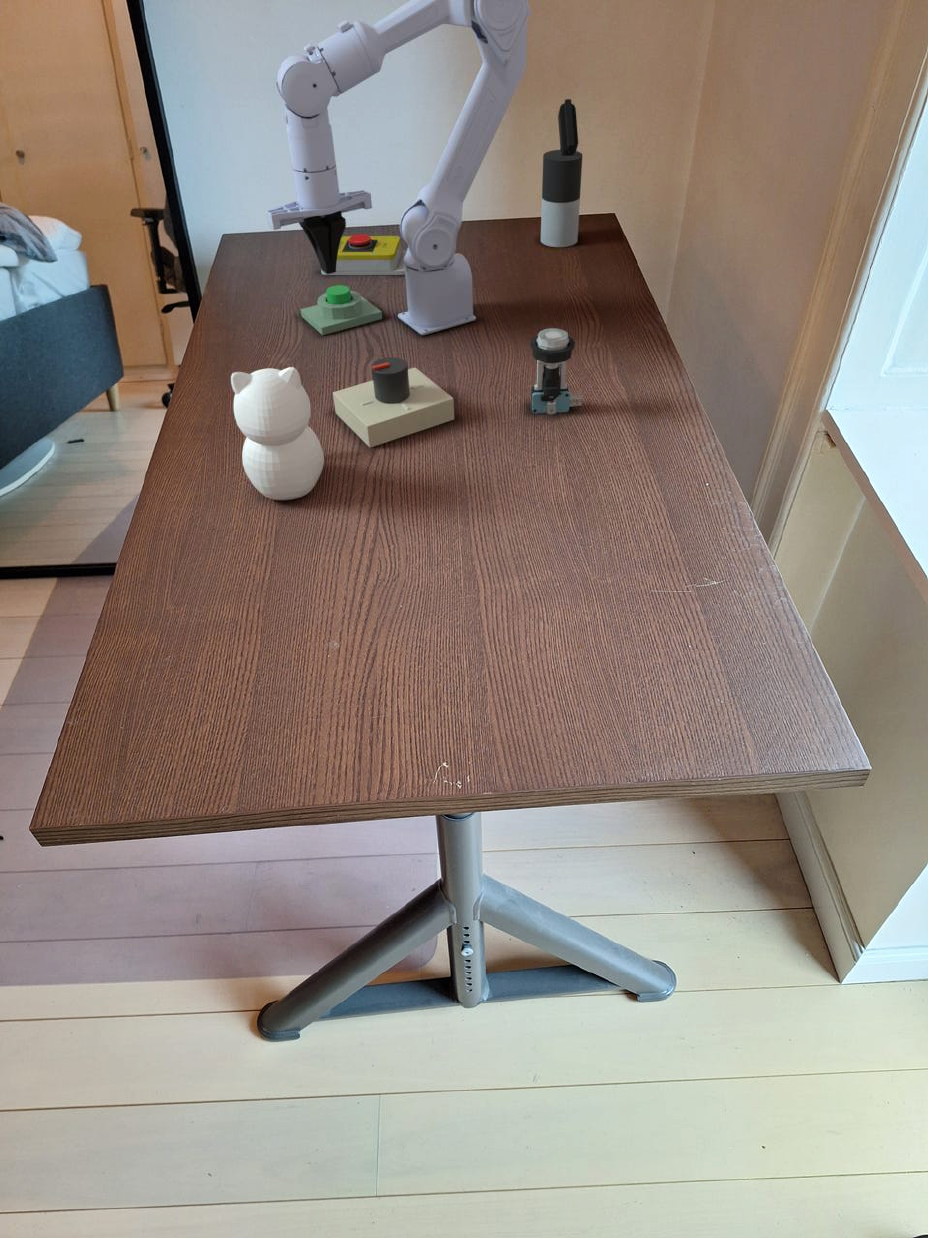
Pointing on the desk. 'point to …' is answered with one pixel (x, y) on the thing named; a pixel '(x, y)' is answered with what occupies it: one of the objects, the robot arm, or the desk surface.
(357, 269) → the emergency button
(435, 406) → the dimmer panel
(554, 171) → the track light
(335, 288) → the light button
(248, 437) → the cat figurine
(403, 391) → the dimmer knob
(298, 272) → the desk surface
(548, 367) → the push button
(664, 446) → the desk surface
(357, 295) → the switch block
